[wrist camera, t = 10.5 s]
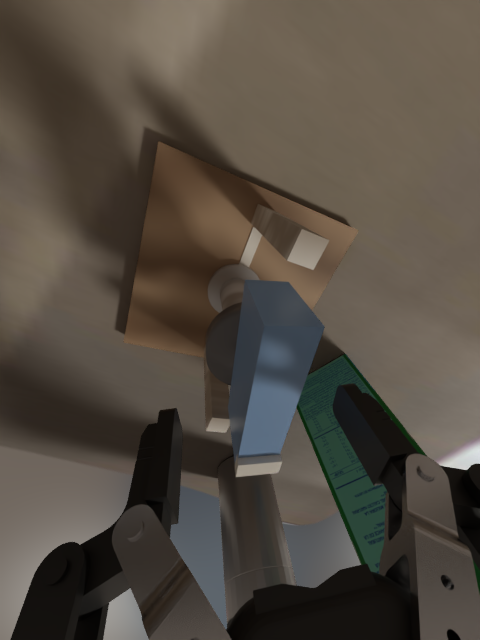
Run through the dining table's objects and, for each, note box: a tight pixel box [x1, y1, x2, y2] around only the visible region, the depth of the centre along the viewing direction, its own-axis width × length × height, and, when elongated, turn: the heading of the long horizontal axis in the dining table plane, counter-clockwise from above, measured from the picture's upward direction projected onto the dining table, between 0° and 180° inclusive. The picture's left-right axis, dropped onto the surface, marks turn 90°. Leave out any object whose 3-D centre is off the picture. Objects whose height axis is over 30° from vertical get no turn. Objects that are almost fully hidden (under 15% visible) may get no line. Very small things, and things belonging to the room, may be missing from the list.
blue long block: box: [205, 280, 324, 477], centre depth 14 cm, size 6×10×6 cm, turn 173°
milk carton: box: [297, 354, 480, 594], centre depth 25 cm, size 9×9×25 cm
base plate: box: [124, 141, 358, 433], centre depth 20 cm, size 18×18×11 cm
